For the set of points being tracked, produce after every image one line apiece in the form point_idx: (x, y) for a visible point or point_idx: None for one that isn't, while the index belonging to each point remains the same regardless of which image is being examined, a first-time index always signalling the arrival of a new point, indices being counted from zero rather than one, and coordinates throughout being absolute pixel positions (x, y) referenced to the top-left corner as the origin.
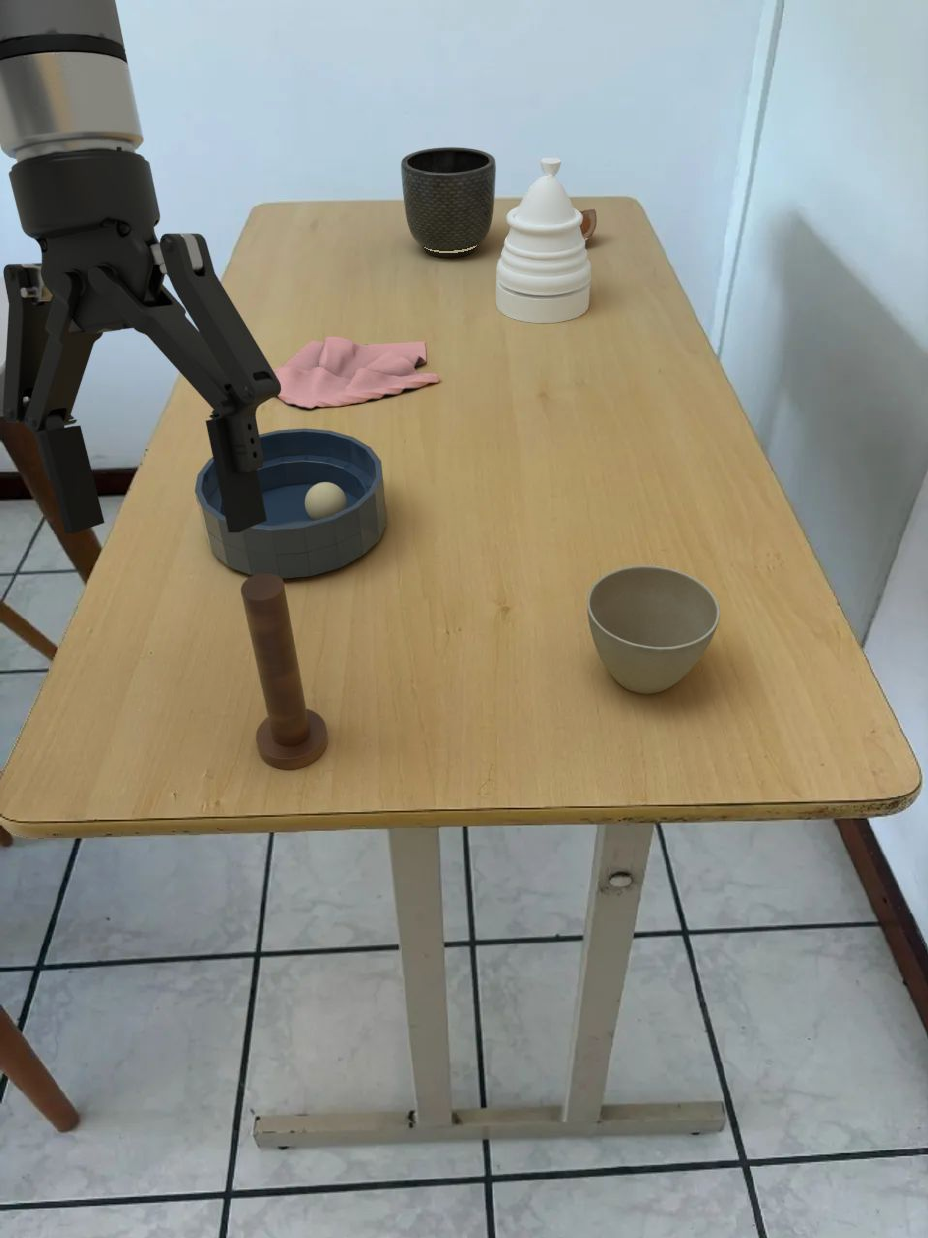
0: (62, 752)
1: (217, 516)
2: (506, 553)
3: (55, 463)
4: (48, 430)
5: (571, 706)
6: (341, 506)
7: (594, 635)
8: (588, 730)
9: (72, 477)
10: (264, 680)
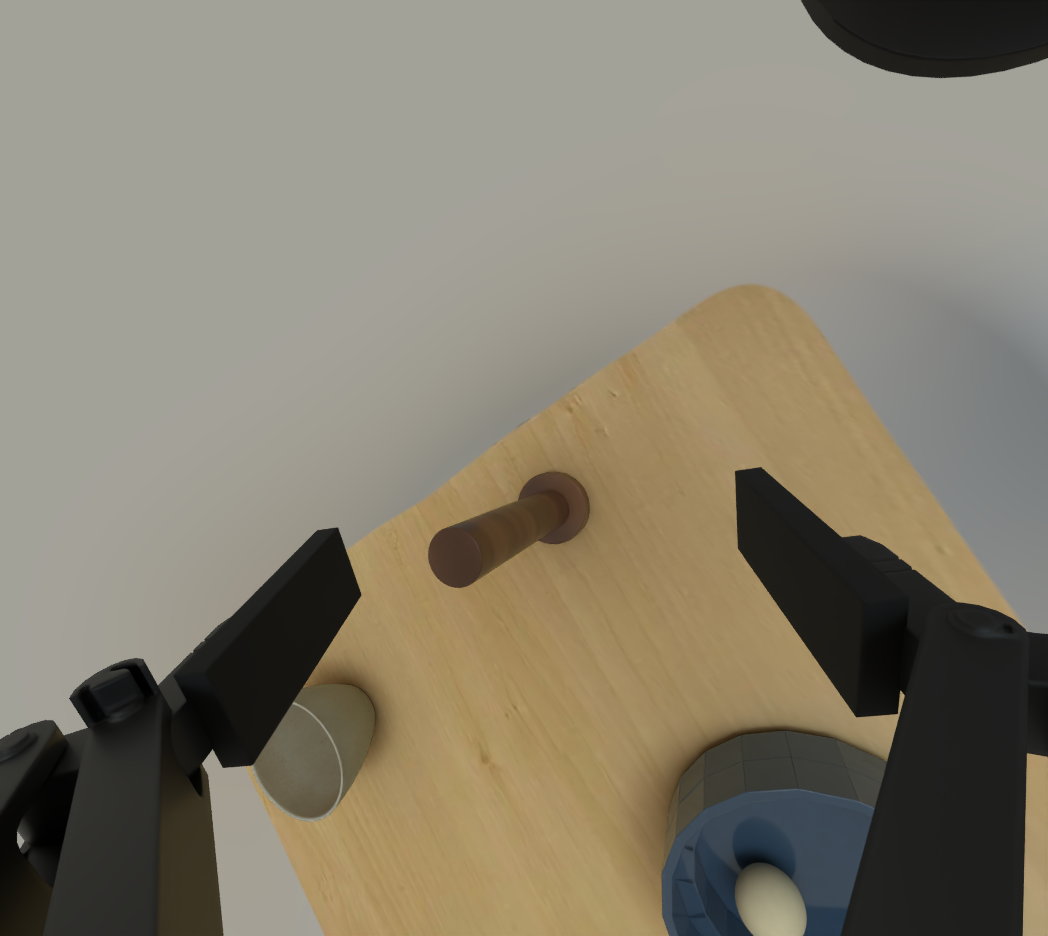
0: (777, 367)
1: (863, 805)
2: (528, 853)
3: (809, 547)
4: (906, 633)
5: (381, 651)
6: (735, 896)
7: (335, 712)
8: (360, 630)
9: (785, 560)
10: (517, 503)
